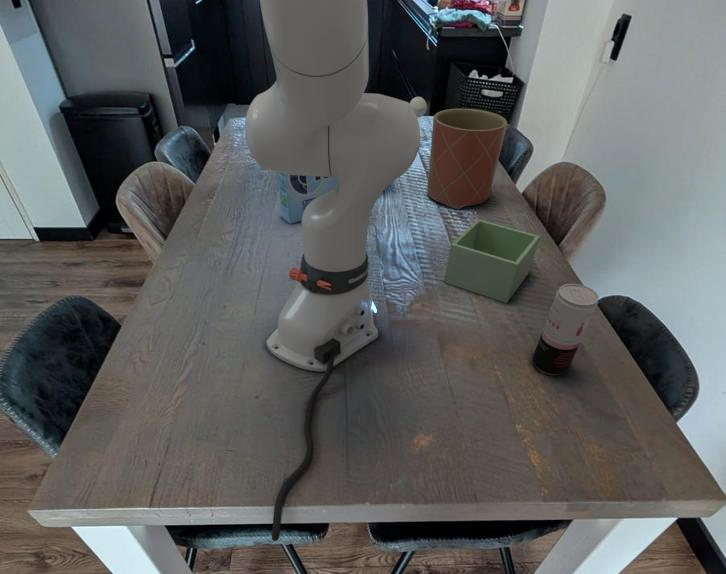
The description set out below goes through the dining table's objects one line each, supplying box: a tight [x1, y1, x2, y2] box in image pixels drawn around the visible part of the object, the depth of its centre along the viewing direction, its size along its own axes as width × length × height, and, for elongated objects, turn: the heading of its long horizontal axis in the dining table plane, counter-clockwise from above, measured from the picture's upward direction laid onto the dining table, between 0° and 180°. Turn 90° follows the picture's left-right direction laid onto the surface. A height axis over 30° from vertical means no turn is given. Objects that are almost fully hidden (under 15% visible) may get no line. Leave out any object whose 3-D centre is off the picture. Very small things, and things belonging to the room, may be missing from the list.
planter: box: [426, 108, 508, 210], centre depth 131 cm, size 19×19×20 cm
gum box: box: [276, 171, 339, 225], centre depth 120 cm, size 20×5×23 cm, turn 123°
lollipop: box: [409, 96, 428, 119], centre depth 161 cm, size 6×6×15 cm
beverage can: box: [531, 283, 600, 376], centre depth 82 cm, size 7×6×15 cm
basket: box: [444, 218, 541, 304], centre depth 104 cm, size 15×15×9 cm
